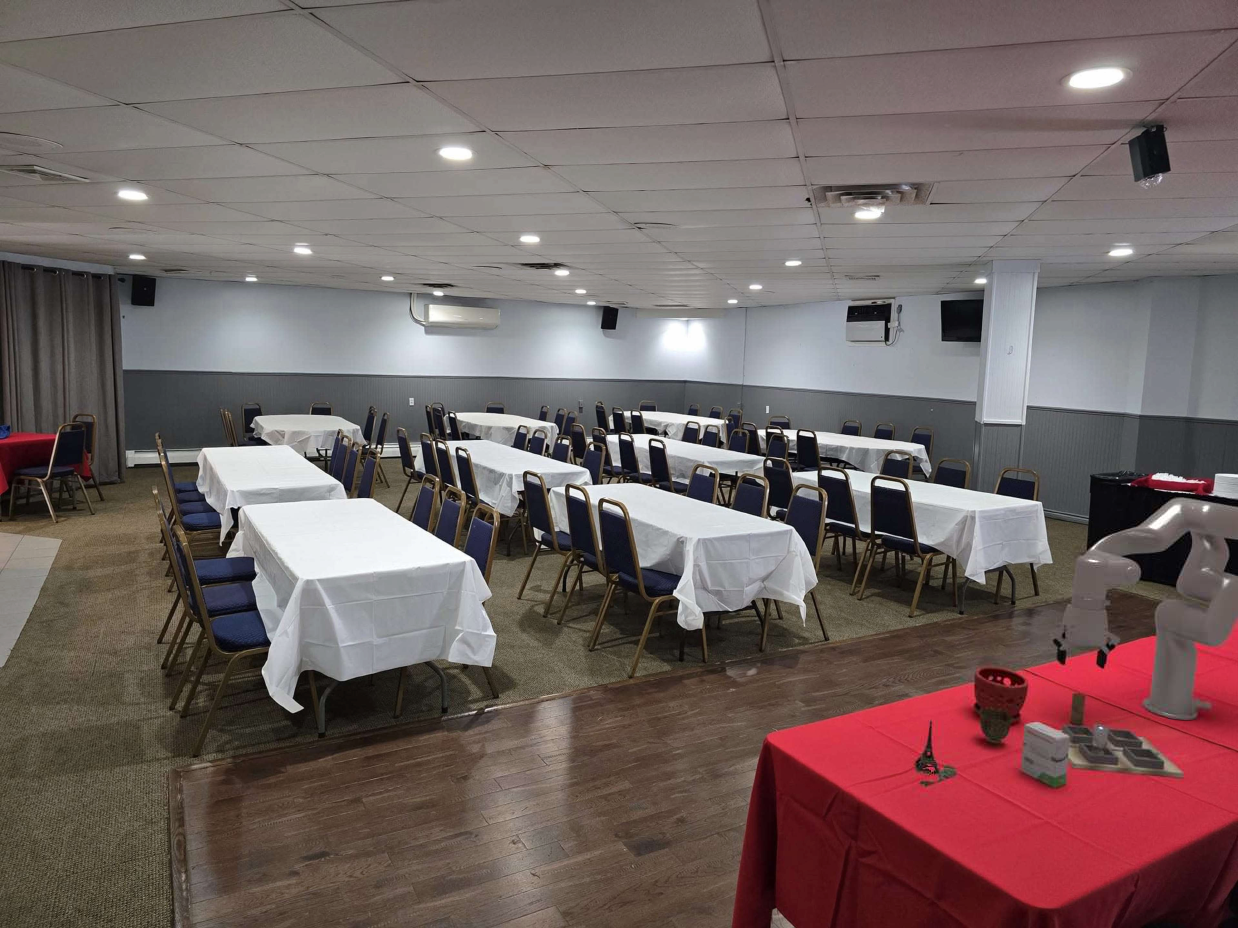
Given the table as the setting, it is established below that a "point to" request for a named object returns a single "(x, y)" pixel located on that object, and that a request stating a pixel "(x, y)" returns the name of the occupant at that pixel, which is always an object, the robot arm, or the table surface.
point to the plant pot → (1000, 691)
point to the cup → (995, 724)
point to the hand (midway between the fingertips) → (1080, 664)
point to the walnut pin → (1077, 709)
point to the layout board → (1116, 752)
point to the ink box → (1045, 754)
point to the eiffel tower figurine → (932, 763)
